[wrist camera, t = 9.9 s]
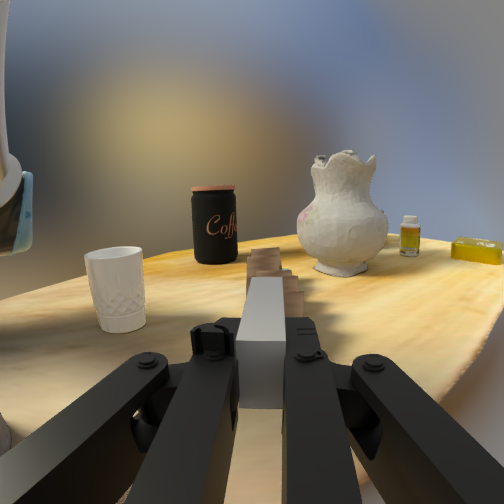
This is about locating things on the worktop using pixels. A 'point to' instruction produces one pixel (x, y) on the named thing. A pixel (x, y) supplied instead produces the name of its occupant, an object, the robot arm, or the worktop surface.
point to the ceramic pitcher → (342, 216)
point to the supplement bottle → (409, 236)
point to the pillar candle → (4, 437)
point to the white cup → (117, 288)
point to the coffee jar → (214, 224)
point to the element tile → (477, 250)
